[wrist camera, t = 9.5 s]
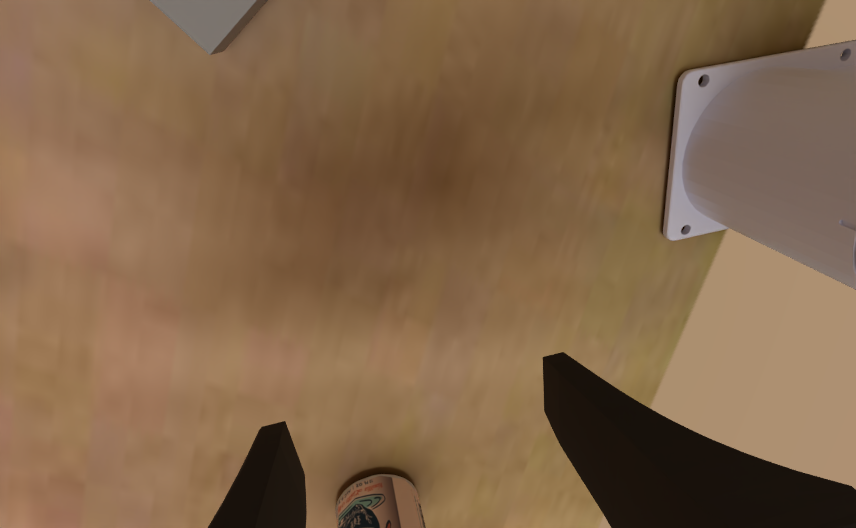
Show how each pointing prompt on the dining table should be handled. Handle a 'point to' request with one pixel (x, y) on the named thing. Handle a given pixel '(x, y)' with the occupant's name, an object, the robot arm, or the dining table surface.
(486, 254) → the dining table surface
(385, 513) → the beer can
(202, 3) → the socket
